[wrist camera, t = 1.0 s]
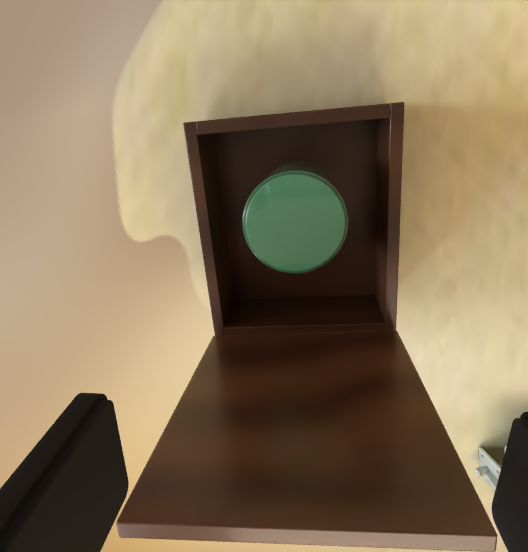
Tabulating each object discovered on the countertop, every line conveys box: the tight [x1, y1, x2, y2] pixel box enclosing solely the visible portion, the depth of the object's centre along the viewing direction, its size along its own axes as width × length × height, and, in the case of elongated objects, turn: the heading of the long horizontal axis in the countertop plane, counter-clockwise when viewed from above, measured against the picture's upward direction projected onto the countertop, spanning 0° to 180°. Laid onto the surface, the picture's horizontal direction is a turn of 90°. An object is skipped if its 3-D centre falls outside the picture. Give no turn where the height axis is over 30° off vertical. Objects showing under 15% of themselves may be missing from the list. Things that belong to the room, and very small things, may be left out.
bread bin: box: [183, 102, 404, 336], centre depth 30 cm, size 16×14×6 cm
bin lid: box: [116, 331, 497, 552], centre depth 22 cm, size 16×14×1 cm
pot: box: [242, 160, 348, 273], centre depth 28 cm, size 6×6×8 cm
